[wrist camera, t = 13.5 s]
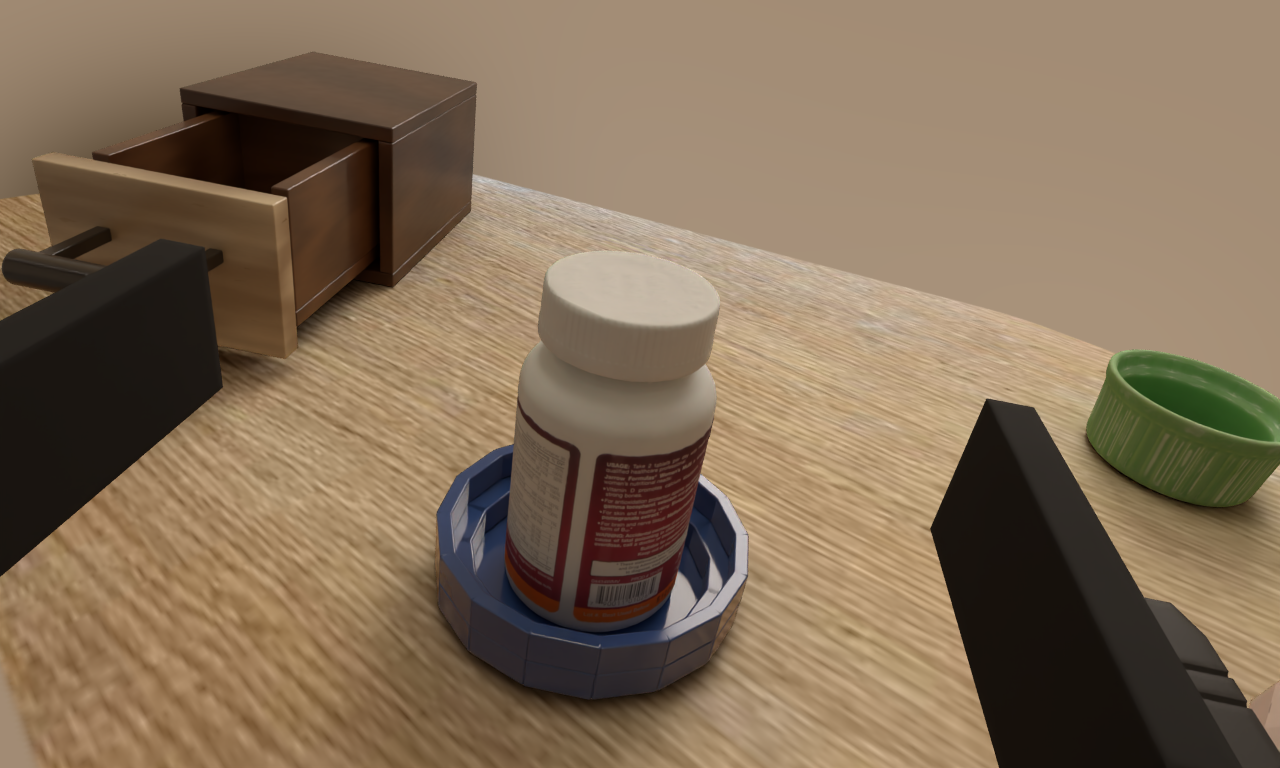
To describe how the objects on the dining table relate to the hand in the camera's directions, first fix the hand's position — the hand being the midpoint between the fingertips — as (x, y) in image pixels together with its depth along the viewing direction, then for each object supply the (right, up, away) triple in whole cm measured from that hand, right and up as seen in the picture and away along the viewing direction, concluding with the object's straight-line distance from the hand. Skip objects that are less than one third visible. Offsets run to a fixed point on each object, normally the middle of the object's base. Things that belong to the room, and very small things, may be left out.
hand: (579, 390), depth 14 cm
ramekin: (+29, -4, +29) cm, 41 cm away
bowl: (-1, -7, +15) cm, 17 cm away
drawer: (-20, +4, +27) cm, 34 cm away
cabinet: (-18, +10, +39) cm, 45 cm away
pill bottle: (-1, -7, +15) cm, 17 cm away
